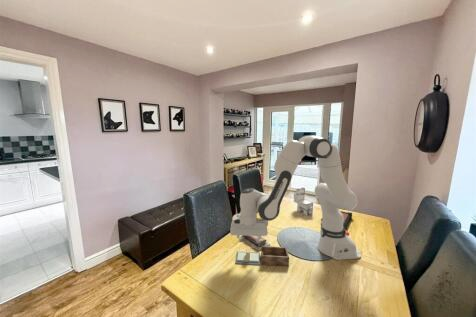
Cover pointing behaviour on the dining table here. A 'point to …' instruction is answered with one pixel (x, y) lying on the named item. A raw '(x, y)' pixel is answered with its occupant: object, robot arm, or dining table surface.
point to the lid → (248, 256)
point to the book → (345, 219)
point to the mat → (248, 262)
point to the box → (274, 256)
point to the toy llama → (303, 202)
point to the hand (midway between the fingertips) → (249, 241)
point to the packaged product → (252, 241)
